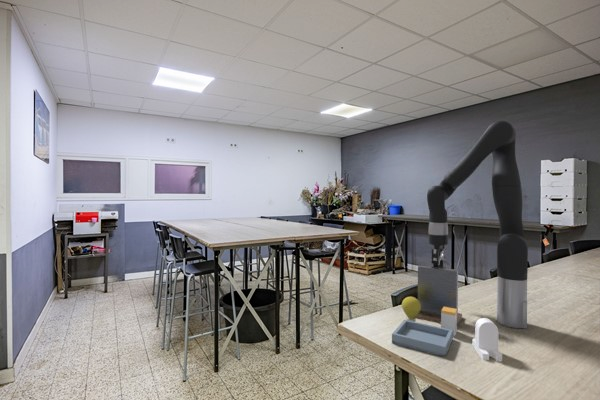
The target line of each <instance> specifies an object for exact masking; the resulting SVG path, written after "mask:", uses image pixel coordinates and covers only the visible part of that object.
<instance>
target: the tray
mask: <svg viewBox="0 0 600 400" xmlns="http://www.w3.org/2000/svg"><path fill="white" fill-rule="evenodd" d="M453 339H454V336H453V330H450V329H445V328H441V326H436V325H431V324H428V323H421V322H417V321H416V322H413V321H408V320H406V319H404V320H402V322H401V323H400V324H399V325H398V326H397V327H396V328H395V330H394V331H393V332H392V333H391V343H392V344H394V345H397V346H402V347H406V348H409V349H413V350H417V351H421V352H425V353H428V354H433V355H435V356H440V357H443V358H445V357H446V356H447V354H448V352H449V349H450V346H451V345H452V342H453Z"/></svg>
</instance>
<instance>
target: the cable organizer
mask: <svg viewBox="0 0 600 400" xmlns="http://www.w3.org/2000/svg"><path fill="white" fill-rule="evenodd" d="M474 328H475V331H474V338H472V347H473V348H474V349H475V351H476V352H477V353H478V355H479V357H480V358H481V359H482V360H483V361H490V357H492V358H493V359H494V360H495V361H496V362H501V361H502V362H503V354H502V353H501V351H500V350H499V329H498V326H497V325H496V324H495V323H494V322H493V321H492V320H491V319H489V318H487V317H481V318H478V319H477V321H476V322H475V325H474Z"/></svg>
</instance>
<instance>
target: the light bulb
mask: <svg viewBox="0 0 600 400" xmlns="http://www.w3.org/2000/svg"><path fill="white" fill-rule="evenodd" d="M401 308H402V310H403V312H404V314H405V316H406V319H405V320H408V321H413V322H417V321H416V320H417V319H416V318H415V317H416V315H417V314H418V313H419V311H420V309H421V305H420V302H419V301H418V298H416V297H414V296H407V297H405V298H404V299H403V300H402V302H401Z"/></svg>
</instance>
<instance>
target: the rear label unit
mask: <svg viewBox="0 0 600 400" xmlns="http://www.w3.org/2000/svg"><path fill="white" fill-rule="evenodd" d="M417 300H418V301H419V302H420V305H421V309H420V311H419V313H418V314H417V315H416V317H415V319H416V318H417V319H421V320H426V321H431V322H434V323H438V324H439V323H440V324H441V310H442V308H443V307H449V308H454V309H457V327H459V326H460V324H461V322H462V319H463V313H461V312H460V313H459V310H458V309H459V305H458V304H459V269H455V268H454V269H453V268H447V267H446V268H445V267H443V268H438V267H433V266H429V265H428V266H427V265H421V264H420V265H418V266H417Z"/></svg>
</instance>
